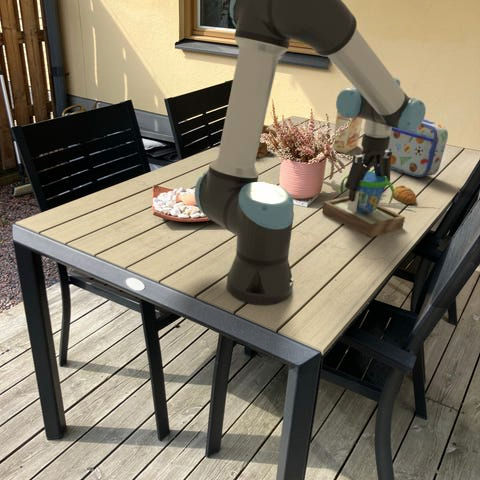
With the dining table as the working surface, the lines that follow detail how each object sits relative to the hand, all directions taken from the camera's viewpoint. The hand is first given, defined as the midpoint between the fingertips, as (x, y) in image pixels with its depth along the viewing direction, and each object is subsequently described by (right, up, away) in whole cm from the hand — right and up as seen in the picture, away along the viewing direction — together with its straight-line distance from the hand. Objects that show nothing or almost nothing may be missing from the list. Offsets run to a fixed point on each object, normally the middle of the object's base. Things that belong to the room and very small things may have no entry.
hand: (363, 207), depth 150 cm
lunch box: (+28, +18, +49) cm, 59 cm away
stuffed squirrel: (-29, +27, +59) cm, 71 cm away
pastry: (+19, +4, +20) cm, 28 cm away
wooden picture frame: (0, -4, +2) cm, 4 cm away
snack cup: (0, 0, 0) cm, 0 cm away
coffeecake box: (+10, +31, +73) cm, 80 cm away
